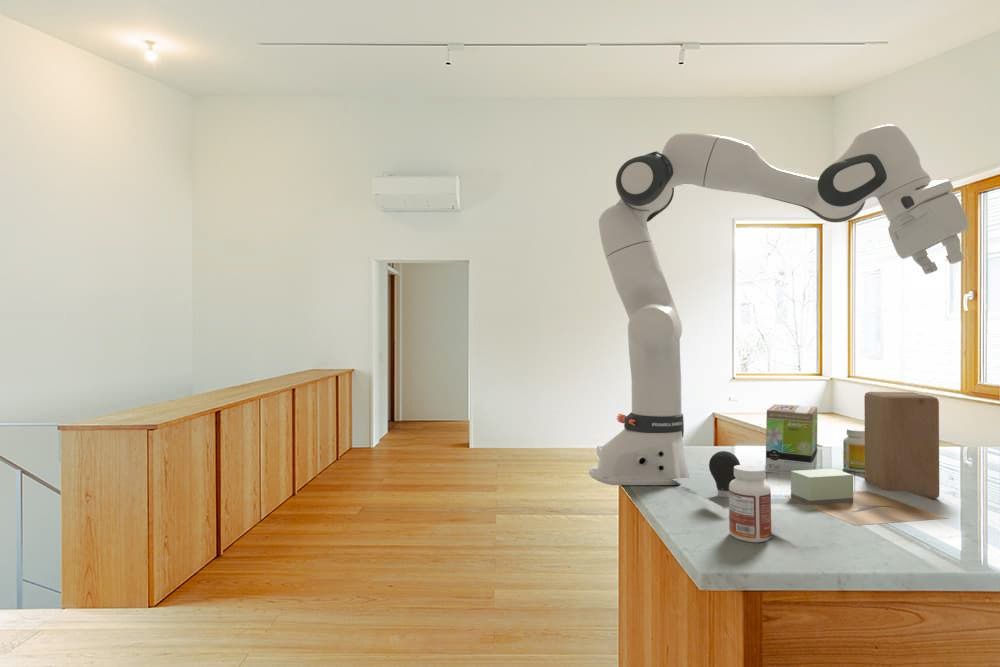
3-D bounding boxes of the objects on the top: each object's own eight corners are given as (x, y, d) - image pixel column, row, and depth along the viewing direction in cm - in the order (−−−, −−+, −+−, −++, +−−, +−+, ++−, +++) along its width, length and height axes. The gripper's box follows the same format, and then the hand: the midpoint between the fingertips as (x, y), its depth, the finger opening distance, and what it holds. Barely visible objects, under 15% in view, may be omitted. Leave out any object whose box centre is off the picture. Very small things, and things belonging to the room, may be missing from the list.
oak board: (855, 534, 93) (854, 525, 93) (785, 503, 110) (785, 495, 110) (949, 527, 96) (949, 518, 96) (867, 498, 113) (867, 490, 113)
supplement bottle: (838, 468, 138) (837, 428, 138) (856, 466, 139) (856, 427, 139) (856, 473, 133) (856, 431, 133) (876, 472, 134) (875, 430, 134)
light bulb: (737, 509, 106) (737, 455, 106) (706, 505, 109) (706, 452, 109) (743, 502, 111) (742, 450, 111) (712, 497, 114) (712, 447, 114)
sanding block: (809, 505, 104) (809, 477, 104) (790, 497, 109) (790, 470, 109) (853, 502, 105) (853, 474, 105) (833, 494, 110) (832, 468, 110)
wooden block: (941, 500, 111) (941, 397, 111) (884, 498, 113) (883, 396, 113) (915, 487, 121) (915, 391, 121) (863, 484, 123) (862, 391, 123)
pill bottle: (760, 530, 95) (760, 463, 95) (778, 543, 89) (778, 472, 89) (723, 530, 95) (722, 463, 95) (738, 543, 89) (738, 472, 89)
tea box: (813, 478, 128) (813, 412, 128) (764, 473, 134) (764, 409, 134) (818, 465, 141) (817, 405, 141) (773, 460, 146) (772, 402, 146)
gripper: (872, 224, 122) (902, 283, 119) (917, 192, 102) (954, 262, 99) (903, 211, 120) (934, 271, 118) (955, 177, 101) (993, 248, 98)
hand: (944, 267), depth 109 cm, fingers open, 8 cm apart
